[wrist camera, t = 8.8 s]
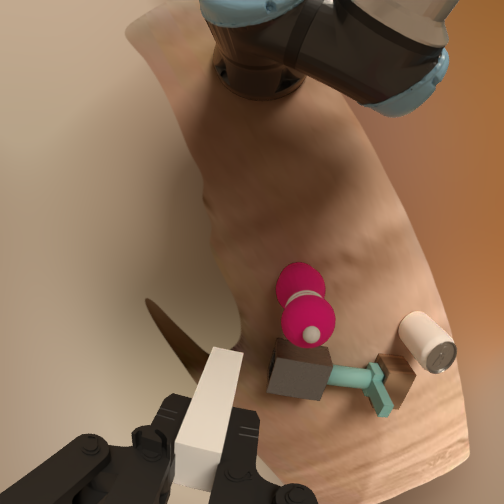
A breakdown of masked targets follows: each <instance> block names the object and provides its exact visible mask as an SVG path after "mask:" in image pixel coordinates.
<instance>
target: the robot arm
mask: <svg viewBox="0 0 504 504" xmlns="http://www.w3.org/2000/svg"><path fill="white" fill-rule="evenodd" d="M458 1H459V0H199V2H200V10H201V12H202V15H203V17H204V18H205V20H206V22H207V24H208V26H209V28H210V31H211V33H212V35H213V37H214V39H215V41H216V46H215V49H214V54H213V61H214V67H215V70H216V72H217V74H218V76H219V78H220V80H221V81H222V83H223V84H224V85H225V86H226V87H227V88H228V89H229V90H230V91H232V92H233V93H235V94H237V95H239V96H241V97H244V98H247V99H251V100H260V101H264V100H273V99H277V98H280V97H283V96H285V95H288V94H289V93H291V92H293V91H294V90H295V89H296V88H298V87H299V86H300V85H301V83H302V82H303V81H304V79H305V77H306V75H307V76H309V77H311V78H313V79H315V80H317V81H319V82H321V83H323V84H325V85H327V86H329V87H331V88H333V89H335V90H337V91H339V92H341V93H343V94H344V95H346V96H348V97H350V98H352V99H353V100H355V101H357V103H358V104H360V105H363V106H364V107H369V108H371V109H373V110H374V111H377V112H378V113H380V114H382V115H384V116H387V117H392V118H396V117H401V116H404V115H407V114H409V113H411V112H412V111H414V110H415V109H416V108H418V107H419V106H420V105H421V104H423V102H425V101H426V100H427V99H428V98H429V97H430V96H431V95H432V93H433V92H434V91H435V89H436V88H435V87H436V85H437V84H438V83H439V82H441V81H442V79H443V77H444V75H445V73H446V71H447V68H448V65H449V56H448V53H447V51H446V50H445V48H444V47H445V46H446V45H447V43H448V41H449V38H448V34H447V31H446V27H445V23H444V22H445V19H446V18H447V16H448V15H449V14H450V12H451V11H452V9H453V8H454V7H455V5H456V4H457V3H458ZM242 358H243V353H241V352H236V351H232V350H227V349H222V348H218V347H213V349H212V351H211V353H210V356H209V358H208V361H207V363H206V366H205V368H204V371H203V373H202V376H201V378H200V381H199V383H198V386H197V388H196V391H195V393H194V396H193V398H188V397H185V396H181V395H178V394H174V393H173V394H171V395H169V396H168V397H166V398H165V399H164V401H163V402H162V405H161V406H160V409H159V410H158V412H157V415H156V416H155V418H154V420H153V421H152V423H151V425H146V426H141V427H138V428H136V429H135V430H134V431H133V432H132V443H133V446H129V447H120V446H112V445H108V443H107V442H106V441H105V440H104V439H103V438H102V437H100V436H98V435H95V434H82V435H80V436H78V437H76V438H75V439H74V440H72V441H71V442H70V443H69V444H67V445H66V446H65V447H63V448H62V449H61V450H59V451H58V452H57V453H56V454H54V455H53V456H51V457H50V458H49V459H47V460H46V461H45V462H43V463H42V464H41V465H39V466H38V467H37V468H35V469H34V470H32V471H31V472H30V473H28V474H27V475H26V476H24V477H23V478H21V479H20V480H19V481H17V482H16V483H15V484H13V485H12V486H10V487H9V488H8V489H6V490H5V491H3V492H2V493H1V494H0V504H167V502H168V499H169V496H170V487H171V484H172V482H173V479H174V483H175V484H179V485H182V486H186V487H190V488H194V489H199V490H203V491H207V492H211V495H210V499H209V504H318V502H317V499H316V497H315V495H314V493H313V492H312V490H311V489H309V488H308V487H306V486H304V485H301V484H294V483H291V484H287V485H284V486H282V487H281V486H278V485H276V484H273V483H270V482H268V481H266V480H265V479H263V478H262V477H261V476H260V475H259V473H258V472H257V470H256V456H257V446H258V436H259V425H260V419H259V417H258V415H257V413H256V411H252V410H246V409H241V408H236V407H232V406H233V401H234V396H235V392H236V387H237V382H238V377H239V372H240V368H241V363H242Z"/></svg>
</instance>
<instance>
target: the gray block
mask: <svg viewBox="0 0 504 504" xmlns="http://www.w3.org/2000/svg"><path fill="white" fill-rule="evenodd" d="M332 369H333V364H332V361H331V357H330V354H329V351H328V348H327V347H324V346H318V347H315V348H301V347H298V346H296V345H294V344H292V343H291V342H290V341H289V340H285V339H280V338H277V340H276V343H275V347H274V350H273V354H272V357H271V361H270V364H269V368H268V373H267V390H266V392H267V393H272V394H278V395H283V396H290V397H296V398H302V399H309V400H317V401H320V399H321V397H322V394H323V392H324V389H325V387H326V385H327V382H328V380H329V377H330V375H331V372H332Z"/></svg>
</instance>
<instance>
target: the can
mask: <svg viewBox="0 0 504 504" xmlns="http://www.w3.org/2000/svg"><path fill="white" fill-rule="evenodd" d="M398 333H399V337H400V339H401V340H402V342H403V343H404V344H405V346H406V347H407V348H408V349H409V351H410V352H411V353H412V355H413V356H414V357H415V359H416V360H417V361H418V362H419V364H420V365H421V366H422V367H423V368H424V369H425V370H427V371H429V372H430V373H433V374H438V373H442V372H444V371H445V370H447V369H448V368H449V367H450V366H451V365H452V363H453V362H454V360H455V358H456V355H457V348H456V345H455V344H454V341H453V339H452V338H451V337H450V336H449V335H448V334H447V333H446V332H445V331H444V330H443V329H442V328H441V327H440V326H439V325H438V324H437V323H436V322H434V321H433V320H432V319H431V318H430V317H429V316H428V315H426V314H425V313H424V312H421V311H414V312H411V313H410V314H408V315H407V316H406V317H405V318H404V319H403V320H402V321H401V323H400V326H399V330H398Z"/></svg>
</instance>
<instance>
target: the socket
mask: <svg viewBox="0 0 504 504" xmlns="http://www.w3.org/2000/svg"><path fill="white" fill-rule="evenodd" d="M375 363H378V365H379V366H380V368H381V370H382V371H383V372H384V374H385V376H386V377H385V379H384V381H383V385H384V387H385V389H386V391H387V393H388V395H389V397H390V399H391V401H392V403H393V405H394V407H393V409H399V408H400V406H401V404H402V402H403V401H404V399H405V397H406V395H407V393H408V391H409V389H410V387H411V385H412V383H413V381H414V379H415V377H416V374H415V372H414V371H413V370H412V368H411V367H410V365H409V364H408V362H407V361H406V360H405V358H404V357H403V356H395V355H387V354H378V356H377V358H376V361H375ZM368 398H369V400H370V403H371V405H372V408H374V406H373V404H372V401H371V399H370V397H368Z"/></svg>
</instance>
